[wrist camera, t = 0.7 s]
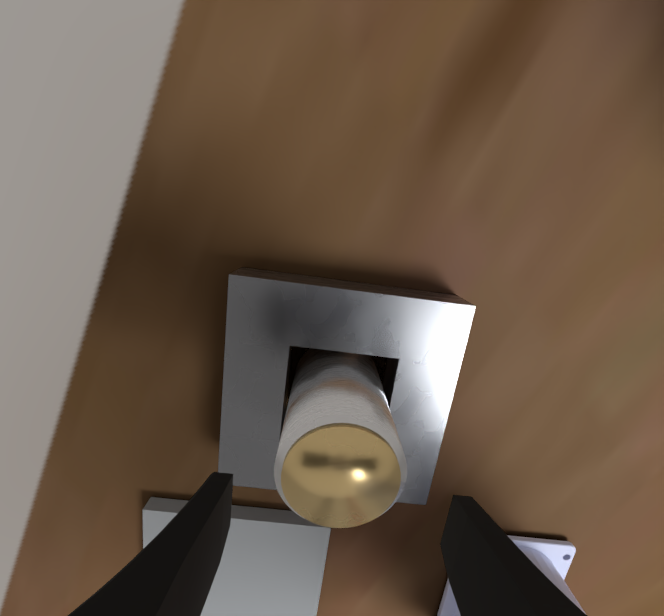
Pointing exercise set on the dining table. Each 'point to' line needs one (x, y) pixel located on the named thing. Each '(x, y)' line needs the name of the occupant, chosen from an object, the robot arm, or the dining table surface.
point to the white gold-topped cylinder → (339, 442)
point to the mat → (258, 560)
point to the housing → (344, 336)
